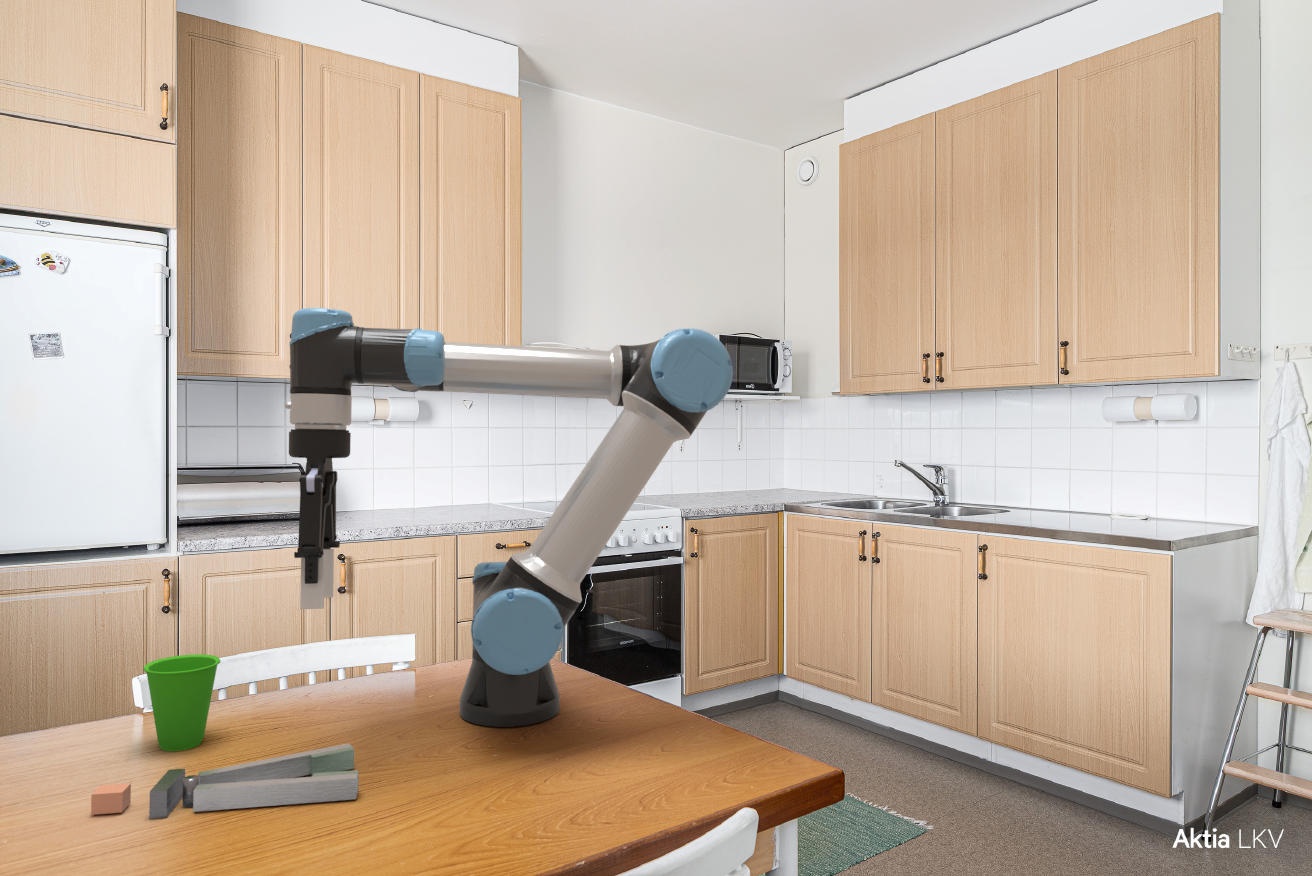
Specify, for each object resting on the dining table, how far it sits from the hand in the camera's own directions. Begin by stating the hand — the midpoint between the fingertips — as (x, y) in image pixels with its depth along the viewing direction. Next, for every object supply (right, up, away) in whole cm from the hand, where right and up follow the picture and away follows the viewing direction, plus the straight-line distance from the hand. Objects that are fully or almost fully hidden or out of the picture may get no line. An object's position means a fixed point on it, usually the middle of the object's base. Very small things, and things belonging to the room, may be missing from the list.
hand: (317, 602), depth 109 cm
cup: (-19, -20, +3) cm, 28 cm away
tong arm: (-1, -20, -9) cm, 22 cm away
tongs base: (-1, -20, -14) cm, 24 cm away
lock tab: (-16, -20, -17) cm, 30 cm away
